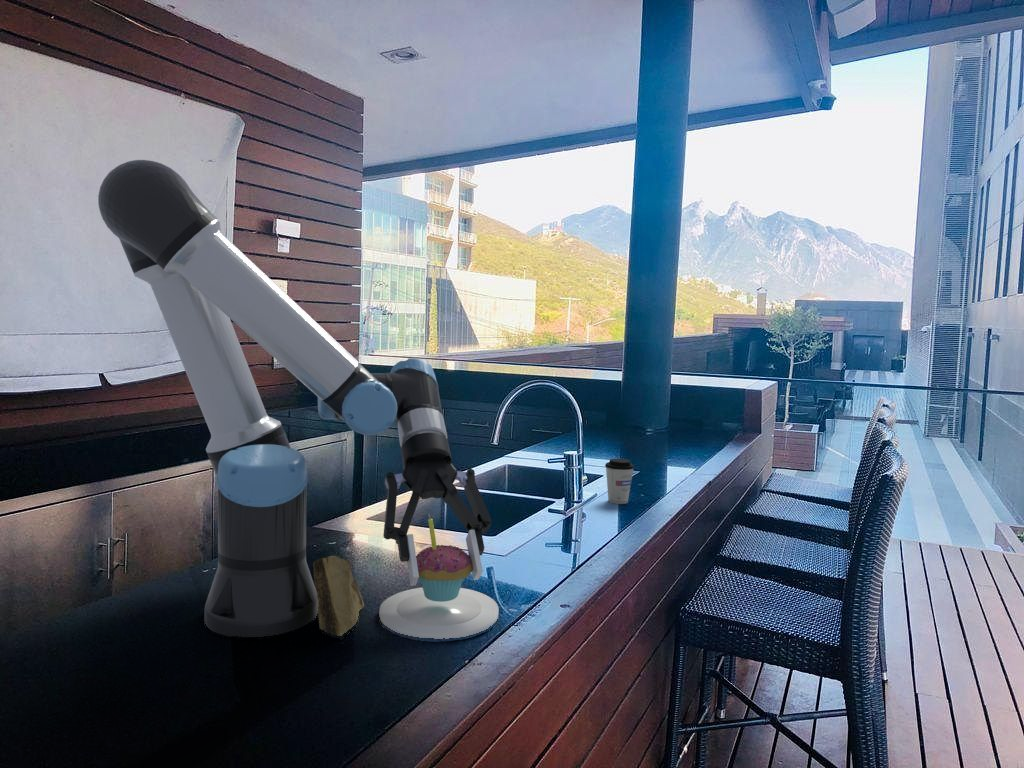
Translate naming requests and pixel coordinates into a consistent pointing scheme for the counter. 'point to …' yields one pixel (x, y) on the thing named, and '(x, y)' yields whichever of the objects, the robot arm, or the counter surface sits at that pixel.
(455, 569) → the cupcake
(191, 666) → the counter surface
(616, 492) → the coffee cup
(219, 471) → the robot arm
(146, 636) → the counter surface
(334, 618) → the rock
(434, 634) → the plate
